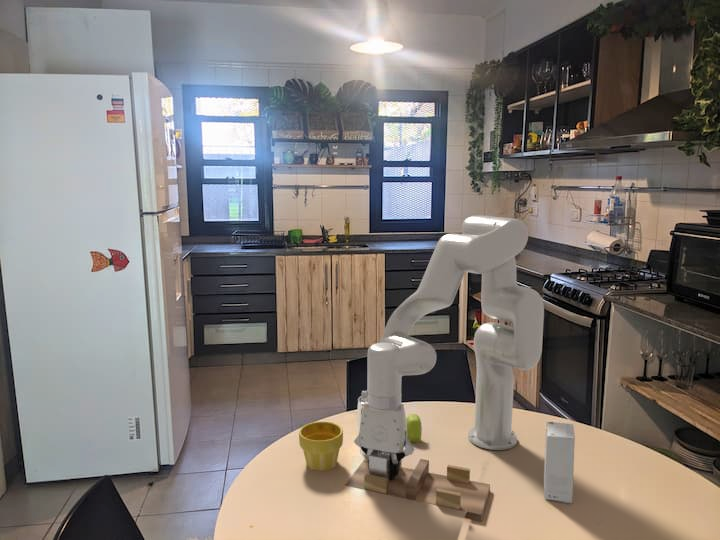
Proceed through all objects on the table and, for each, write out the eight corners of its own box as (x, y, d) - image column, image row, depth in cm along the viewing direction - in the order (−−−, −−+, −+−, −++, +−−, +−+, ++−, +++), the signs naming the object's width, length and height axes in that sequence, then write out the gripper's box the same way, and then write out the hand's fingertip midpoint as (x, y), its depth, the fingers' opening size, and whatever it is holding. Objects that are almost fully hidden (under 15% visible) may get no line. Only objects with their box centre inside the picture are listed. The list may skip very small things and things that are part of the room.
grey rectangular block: (380, 467, 132) (381, 439, 131) (397, 470, 131) (397, 442, 130) (369, 485, 125) (369, 455, 124) (386, 488, 123) (386, 459, 122)
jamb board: (363, 465, 136) (364, 448, 135) (489, 490, 125) (490, 472, 125) (344, 491, 125) (344, 472, 124) (481, 521, 114) (481, 501, 114)
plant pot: (302, 482, 129) (301, 442, 127) (297, 460, 139) (296, 422, 137) (346, 477, 131) (346, 438, 129) (339, 456, 141) (338, 419, 139)
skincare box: (572, 504, 120) (577, 439, 118) (542, 499, 122) (546, 435, 119) (570, 484, 128) (574, 423, 126) (542, 479, 130) (546, 419, 127)
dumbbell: (358, 449, 144) (358, 423, 143) (358, 435, 152) (358, 410, 151) (422, 449, 144) (423, 423, 143) (419, 435, 152) (420, 410, 151)
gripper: (342, 399, 124) (343, 476, 127) (416, 411, 118) (414, 491, 121) (355, 387, 131) (355, 460, 134) (425, 398, 125) (423, 474, 128)
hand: (383, 474), depth 128 cm, fingers closed on grey rectangular block, 4 cm apart
